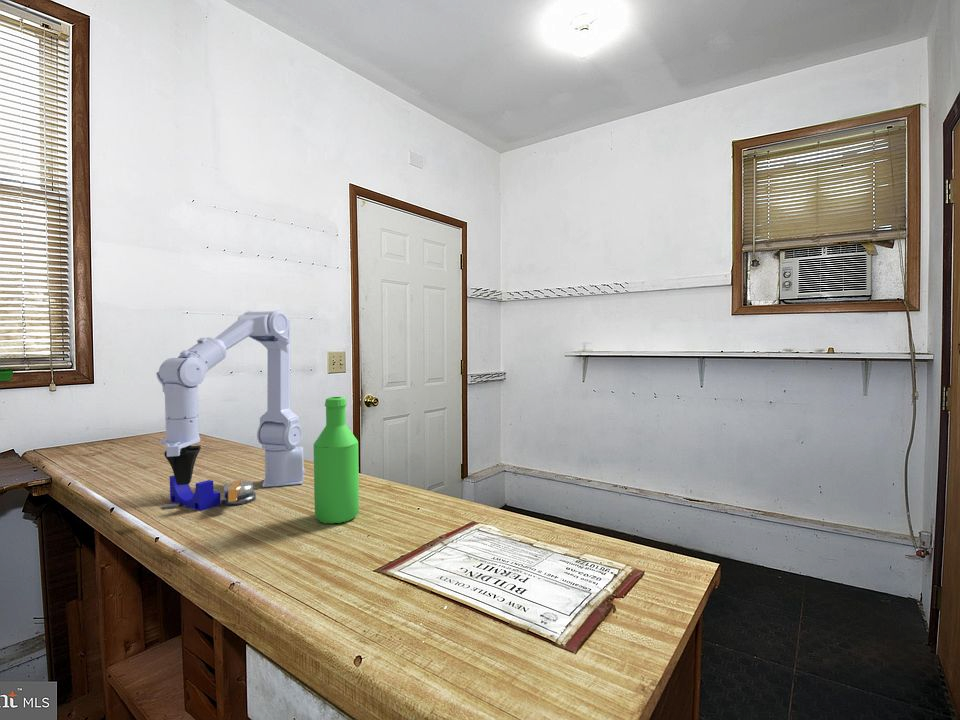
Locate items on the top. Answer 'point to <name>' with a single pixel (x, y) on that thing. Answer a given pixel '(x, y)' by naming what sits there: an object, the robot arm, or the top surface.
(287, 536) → the top surface
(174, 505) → the grey block
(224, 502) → the dial housing
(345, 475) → the bottle
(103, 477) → the top surface
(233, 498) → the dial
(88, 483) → the top surface
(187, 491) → the cable clip
